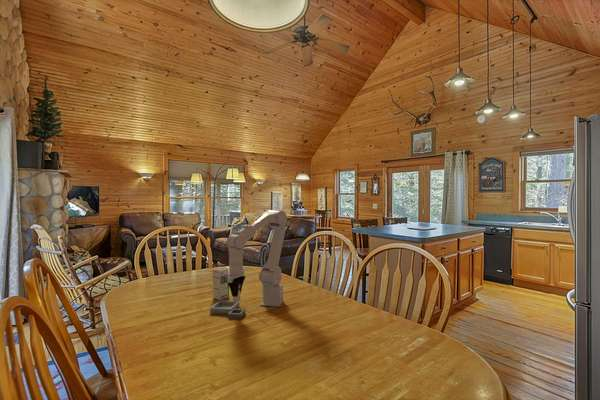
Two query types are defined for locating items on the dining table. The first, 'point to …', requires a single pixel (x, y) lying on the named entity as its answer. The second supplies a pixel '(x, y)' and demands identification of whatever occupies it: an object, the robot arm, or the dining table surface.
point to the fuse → (237, 299)
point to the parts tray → (223, 307)
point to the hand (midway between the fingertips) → (236, 294)
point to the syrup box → (220, 283)
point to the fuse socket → (236, 313)
